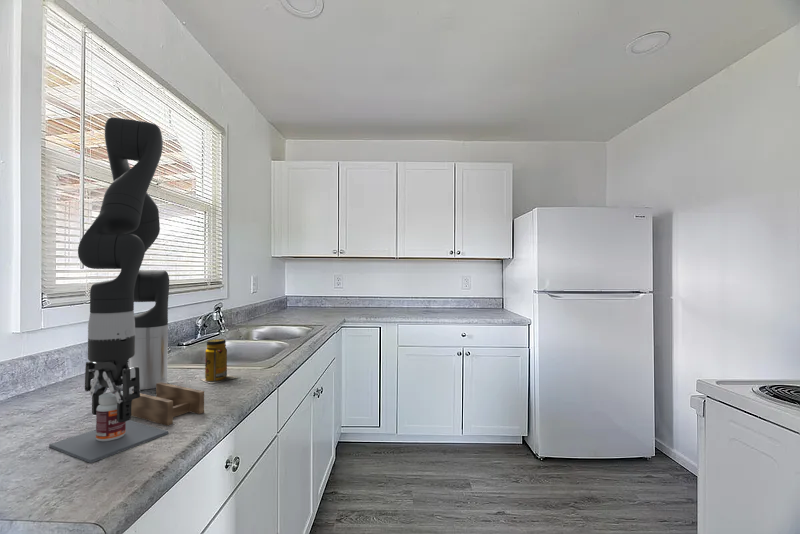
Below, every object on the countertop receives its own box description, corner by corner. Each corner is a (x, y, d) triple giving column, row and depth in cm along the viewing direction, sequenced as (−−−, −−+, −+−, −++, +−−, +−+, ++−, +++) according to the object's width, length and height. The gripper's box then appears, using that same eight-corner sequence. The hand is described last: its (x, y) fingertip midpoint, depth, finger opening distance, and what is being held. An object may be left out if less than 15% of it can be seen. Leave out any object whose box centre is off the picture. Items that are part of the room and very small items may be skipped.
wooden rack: (123, 413, 93) (123, 391, 93) (160, 402, 101) (160, 382, 101) (167, 425, 86) (167, 402, 86) (204, 412, 94) (204, 391, 94)
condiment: (199, 379, 122) (200, 340, 122) (226, 374, 128) (227, 336, 128) (210, 384, 117) (211, 343, 117) (238, 378, 123) (238, 339, 124)
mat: (49, 446, 76) (49, 444, 76) (127, 421, 88) (127, 419, 88) (90, 463, 69) (90, 460, 69) (168, 433, 82) (168, 431, 82)
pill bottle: (110, 443, 76) (110, 399, 76) (89, 441, 77) (89, 397, 77) (131, 433, 81) (132, 391, 81) (111, 431, 82) (112, 389, 82)
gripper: (70, 334, 79) (69, 417, 79) (112, 340, 72) (111, 430, 72) (111, 329, 85) (111, 405, 85) (153, 334, 79) (153, 417, 79)
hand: (111, 417), depth 79 cm, fingers open, 8 cm apart
